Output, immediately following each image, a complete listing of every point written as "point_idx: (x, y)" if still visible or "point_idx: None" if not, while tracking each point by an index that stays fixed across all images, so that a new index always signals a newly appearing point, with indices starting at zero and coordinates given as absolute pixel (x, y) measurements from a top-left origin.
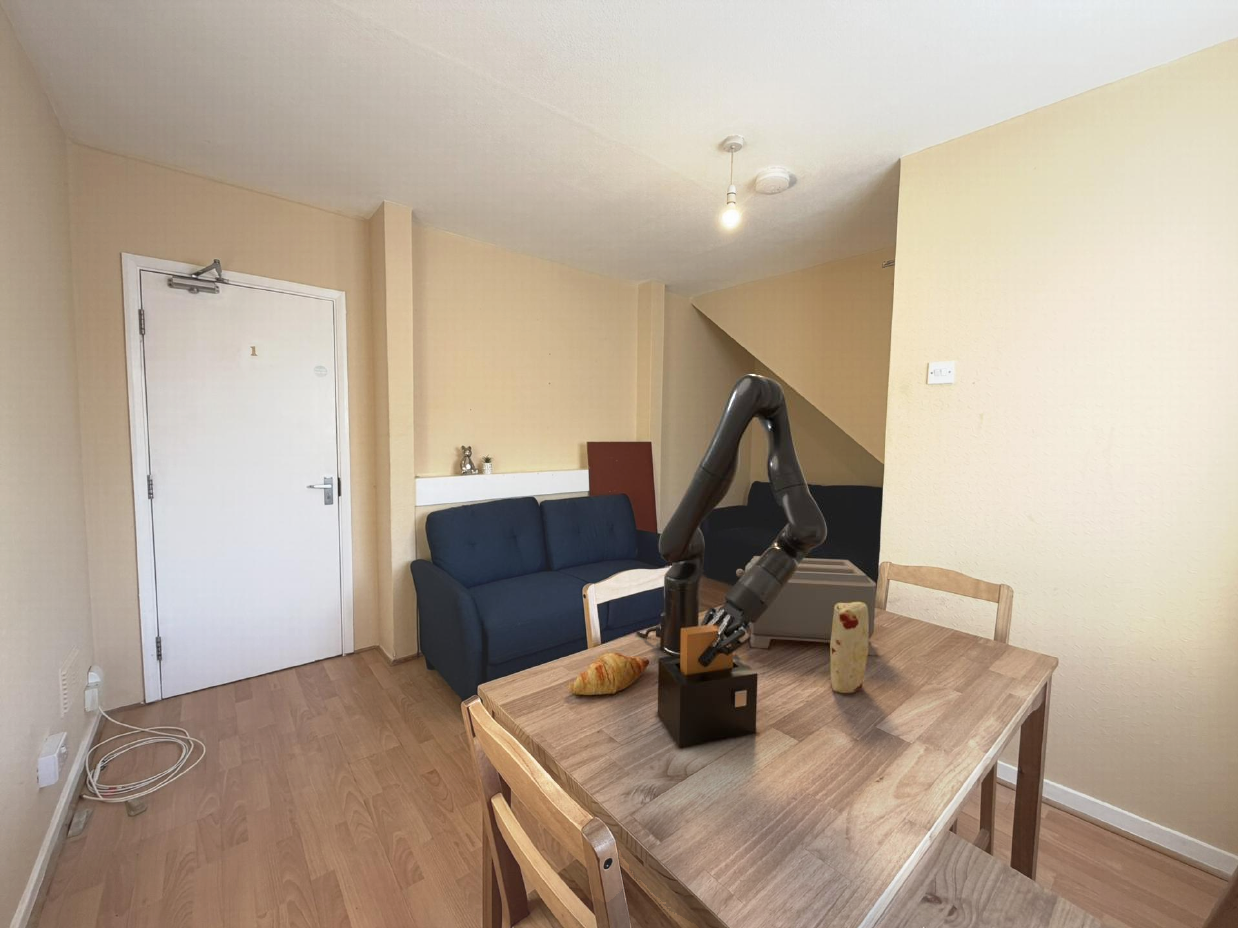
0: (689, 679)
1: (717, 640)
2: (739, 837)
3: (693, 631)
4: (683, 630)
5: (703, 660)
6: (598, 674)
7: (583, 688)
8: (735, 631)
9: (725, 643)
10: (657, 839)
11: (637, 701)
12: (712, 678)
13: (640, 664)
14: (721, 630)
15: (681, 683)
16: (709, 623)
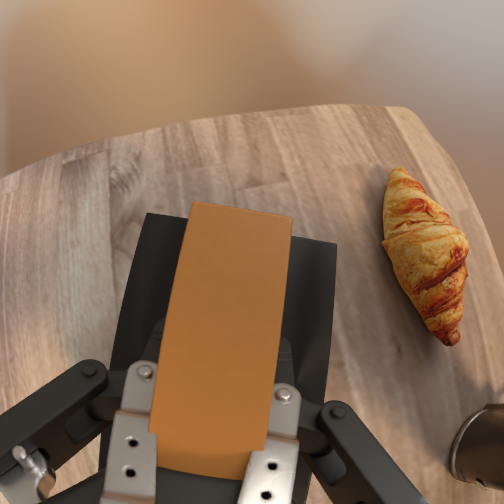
0: (160, 256)
1: (127, 391)
2: (13, 244)
3: (211, 260)
4: (256, 213)
5: (164, 320)
6: (407, 200)
7: (389, 183)
8: (16, 450)
9: (57, 383)
10: (66, 162)
11: (348, 277)
12: (127, 332)
13: (438, 315)
14: (116, 434)
15: (154, 221)
16: (288, 450)
